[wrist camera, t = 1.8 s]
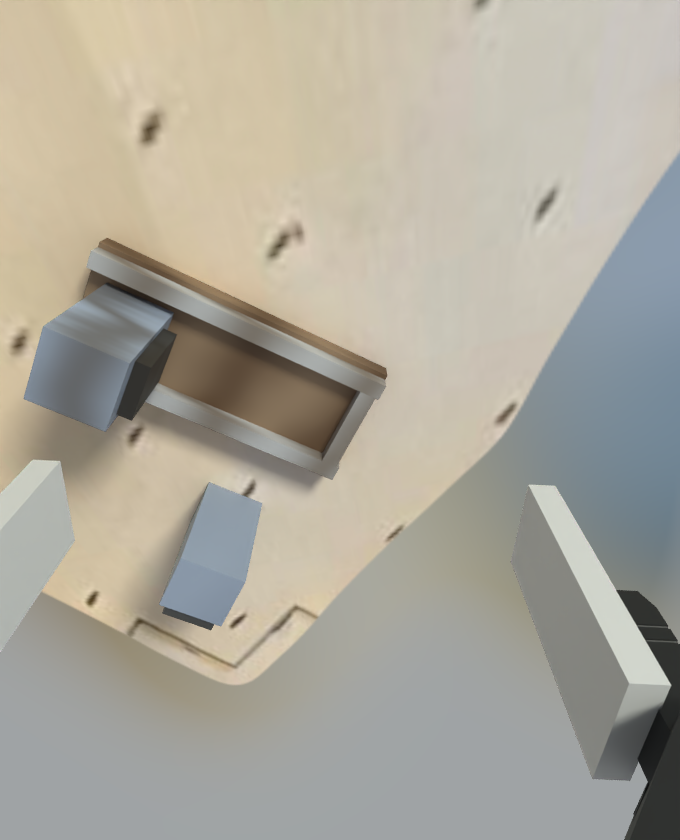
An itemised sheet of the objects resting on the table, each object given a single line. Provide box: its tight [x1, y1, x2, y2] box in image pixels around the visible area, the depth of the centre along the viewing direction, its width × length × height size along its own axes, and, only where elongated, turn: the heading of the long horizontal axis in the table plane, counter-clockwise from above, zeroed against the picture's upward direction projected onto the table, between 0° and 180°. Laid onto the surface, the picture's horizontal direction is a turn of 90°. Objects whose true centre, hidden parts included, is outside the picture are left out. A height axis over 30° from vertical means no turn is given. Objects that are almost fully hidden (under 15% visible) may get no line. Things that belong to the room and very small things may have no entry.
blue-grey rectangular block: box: [159, 482, 262, 630], centre depth 39 cm, size 4×5×8 cm
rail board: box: [24, 238, 387, 480], centre depth 33 cm, size 18×8×9 cm, turn 64°
